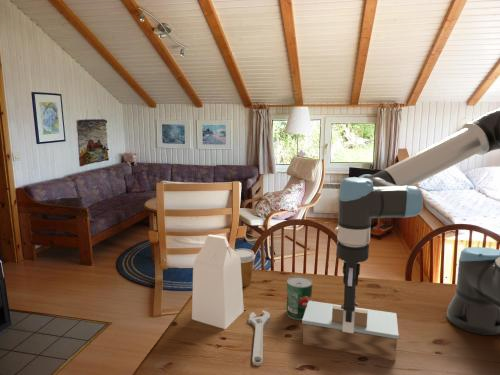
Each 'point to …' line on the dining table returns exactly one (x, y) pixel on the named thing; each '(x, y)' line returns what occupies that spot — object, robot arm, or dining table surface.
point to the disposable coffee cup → (246, 265)
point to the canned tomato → (298, 296)
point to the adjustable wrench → (258, 335)
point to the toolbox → (350, 341)
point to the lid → (363, 319)
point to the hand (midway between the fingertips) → (348, 330)
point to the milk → (217, 283)
